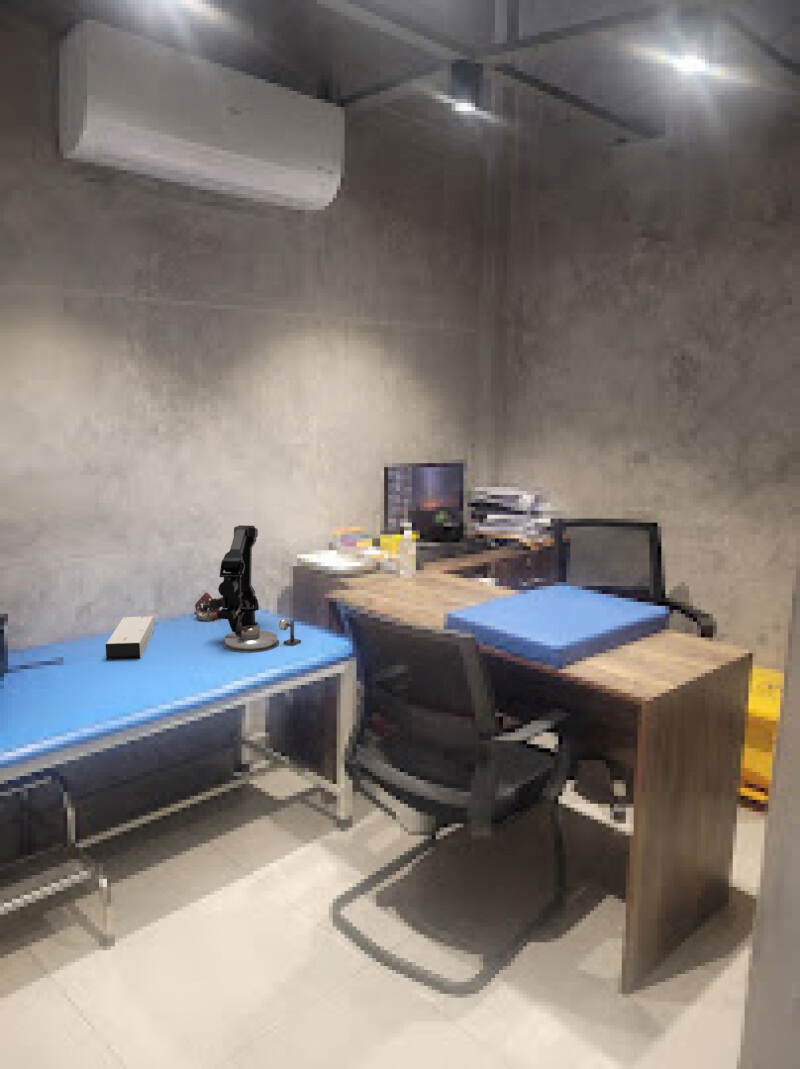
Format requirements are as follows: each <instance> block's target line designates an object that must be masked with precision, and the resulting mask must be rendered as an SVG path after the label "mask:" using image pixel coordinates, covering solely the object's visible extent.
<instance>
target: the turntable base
mask: <svg viewBox="0 0 800 1069" xmlns="http://www.w3.org/2000/svg"><path fill="white" fill-rule="evenodd" d="M279 645H280V640H279V639H278V638H277V644H276V645H274V646H272V647H270V648H266V649H261V650H251V651H245V650H235V649H231V648H228V647H227V646H226V645H225V641H223V643H222V647H223V648H224V649H226V650H228V651H231V652H234V653H247V654H248V653H260V652H266V651H270V650H273V649H275V648H277V647H278V646H279Z"/></svg>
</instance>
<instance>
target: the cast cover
mask: <svg viewBox="0 0 800 1069" xmlns="http://www.w3.org/2000/svg"><path fill="white" fill-rule="evenodd" d="M260 630H261V629H260V626H259V625H257V624H256V625H247V626H241V637H242V639H245V640H255V639H258V638H260Z"/></svg>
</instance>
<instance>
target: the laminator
mask: <svg viewBox="0 0 800 1069" xmlns="http://www.w3.org/2000/svg"><path fill="white" fill-rule="evenodd" d="M154 622H155V621H154V616H153V615H150V616H147V615H145V616H143V615H142V616H123V617H122V619H121V621H120V622H119V623H118V625H117V627H116V628H115V629H114V631H113V632H112V634H111V636H110V637H109V639H108V640H107V642H106V644H105V658H106V659H105V660H127V659H130V660H132V659H134V660H135V659H141V658H142V656H143V654H144V653H145V650H146V648H147V646H148V645H149V641H150V640H151V638H152V636H151V635H153V634H154V632H153V631H155V625H154V624H155V623H154ZM152 633H153V634H152Z"/></svg>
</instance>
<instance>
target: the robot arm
mask: <svg viewBox="0 0 800 1069" xmlns="http://www.w3.org/2000/svg"><path fill="white" fill-rule="evenodd" d="M258 534H259V531H258V528H257V527H256V526H255V525H244V524H243V525H240V524H239V525H236V526H234V527H233V538H232V541H231V546H230V549H229V551H228V552H226V553H225V555H224V556H223V559H222V560H221V563H220V571H219V578H223V581H222V582H221V583H220V584H219V585H218V588H217V589H218V593H219V595H220V596H222V597H218V598H213V599H212V600H211V599H210V603H209V604H210V605H209V607H211V608H212V610H215V609H217V608H221V610H220V611H218V612H217V618H216V619H220V620H227V621H228V624H229V627H230V629H231V633H233V632H236V630H237V627H238V625H239V623H240V622H241V627H243V626H247V625H256V626H257V625H258V624H259V623H258V622H257V621H256V611H259V610H260V606H259V599H258V598H257V596H256V590H255V589H254V586H253V585H252V568H253V566H252V560H253V559H252V556H253V555H252V554H253V547H254V546H255V544H256V542H257V538H258V536H259V535H258Z"/></svg>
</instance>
